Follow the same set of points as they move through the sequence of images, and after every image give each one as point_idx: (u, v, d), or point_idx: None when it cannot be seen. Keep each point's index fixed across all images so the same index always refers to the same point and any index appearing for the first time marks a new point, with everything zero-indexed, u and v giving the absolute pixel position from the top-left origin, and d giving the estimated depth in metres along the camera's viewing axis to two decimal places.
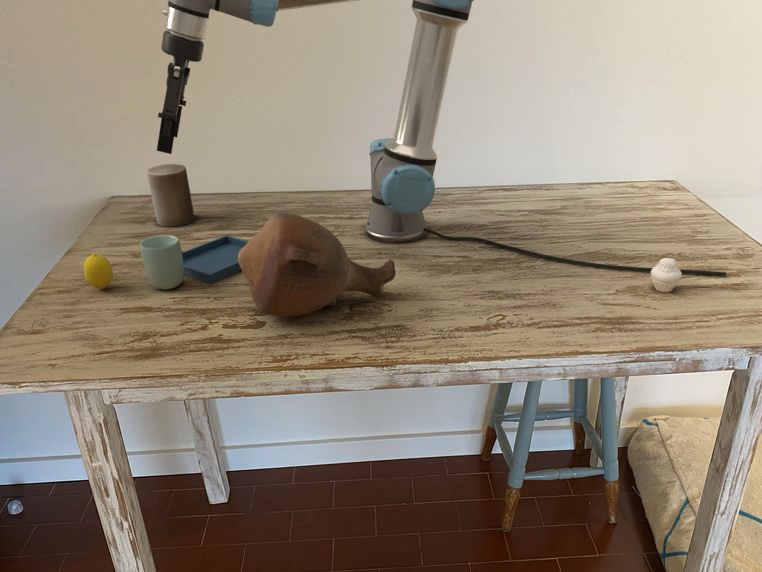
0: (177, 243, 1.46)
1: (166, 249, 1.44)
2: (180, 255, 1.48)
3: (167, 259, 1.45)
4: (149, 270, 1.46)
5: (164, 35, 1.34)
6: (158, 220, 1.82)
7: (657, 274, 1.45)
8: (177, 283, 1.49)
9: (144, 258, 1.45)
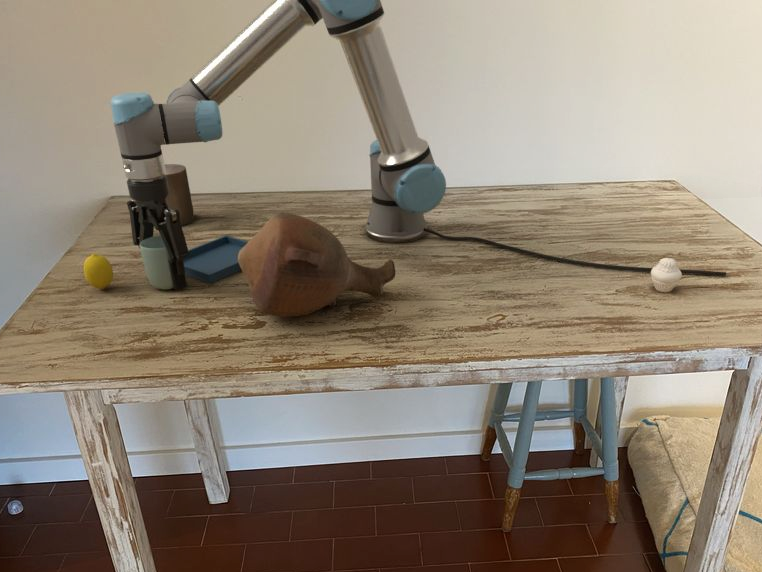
0: None
1: (166, 249, 1.44)
2: None
3: (167, 259, 1.45)
4: (149, 270, 1.46)
5: (137, 187, 1.37)
6: None
7: (657, 274, 1.45)
8: None
9: (144, 258, 1.45)
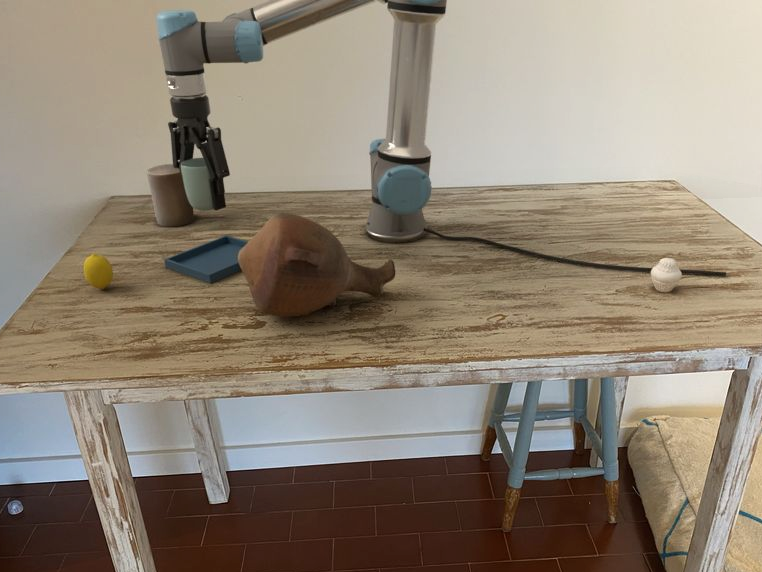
0: None
1: (207, 168, 1.47)
2: None
3: (208, 179, 1.48)
4: (189, 190, 1.49)
5: (180, 103, 1.40)
6: (158, 220, 1.82)
7: (657, 274, 1.45)
8: None
9: (185, 177, 1.48)
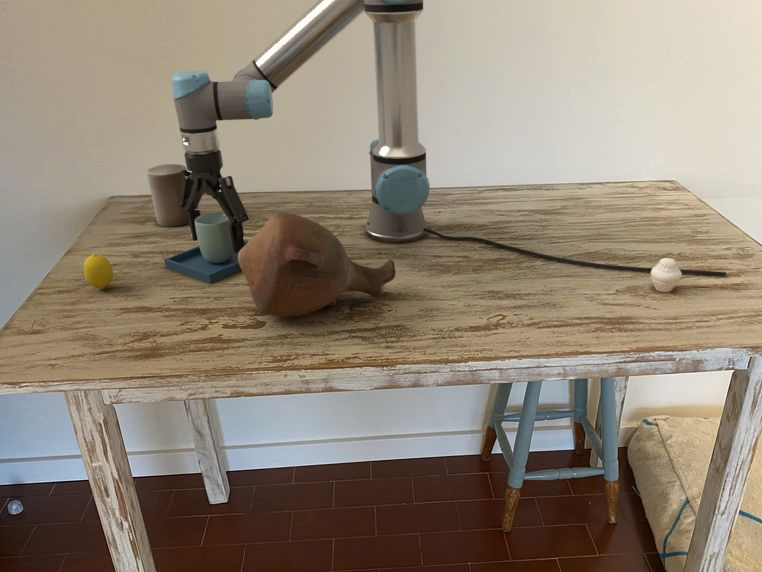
0: (229, 220, 1.57)
1: (219, 225, 1.54)
2: None
3: (220, 234, 1.55)
4: (203, 245, 1.57)
5: (194, 159, 1.47)
6: (158, 220, 1.82)
7: (657, 274, 1.45)
8: (228, 257, 1.60)
9: (199, 233, 1.55)
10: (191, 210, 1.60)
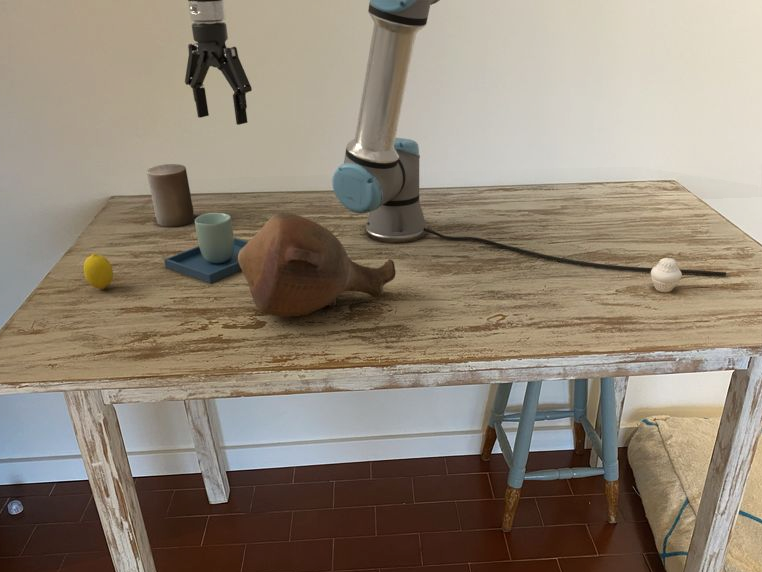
0: (229, 220, 1.57)
1: (219, 225, 1.54)
2: (232, 231, 1.59)
3: (220, 234, 1.55)
4: (203, 245, 1.57)
5: (201, 28, 1.55)
6: (158, 220, 1.82)
7: (657, 274, 1.45)
8: (228, 257, 1.60)
9: (199, 233, 1.55)
10: (196, 87, 1.68)
